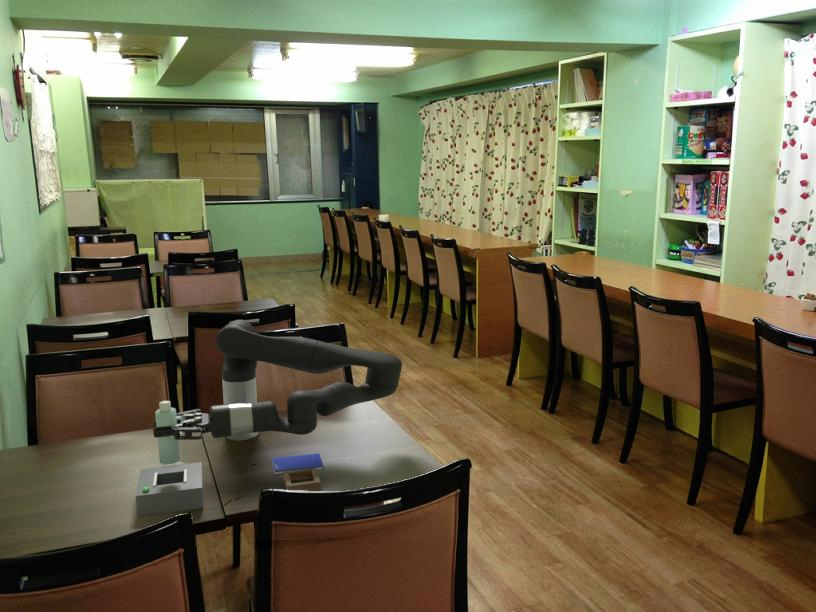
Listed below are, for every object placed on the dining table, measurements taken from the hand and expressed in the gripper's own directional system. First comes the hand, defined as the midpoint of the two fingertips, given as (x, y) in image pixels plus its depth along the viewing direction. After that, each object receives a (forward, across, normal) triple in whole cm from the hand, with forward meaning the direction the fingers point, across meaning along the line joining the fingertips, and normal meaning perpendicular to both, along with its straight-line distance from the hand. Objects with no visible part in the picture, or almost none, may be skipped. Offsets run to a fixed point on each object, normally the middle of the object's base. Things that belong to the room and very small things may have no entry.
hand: (154, 428), depth 155 cm
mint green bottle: (-3, 0, -8) cm, 9 cm away
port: (-2, 0, -18) cm, 18 cm away
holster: (-32, -2, -18) cm, 37 cm away
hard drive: (-33, +10, -19) cm, 39 cm away
